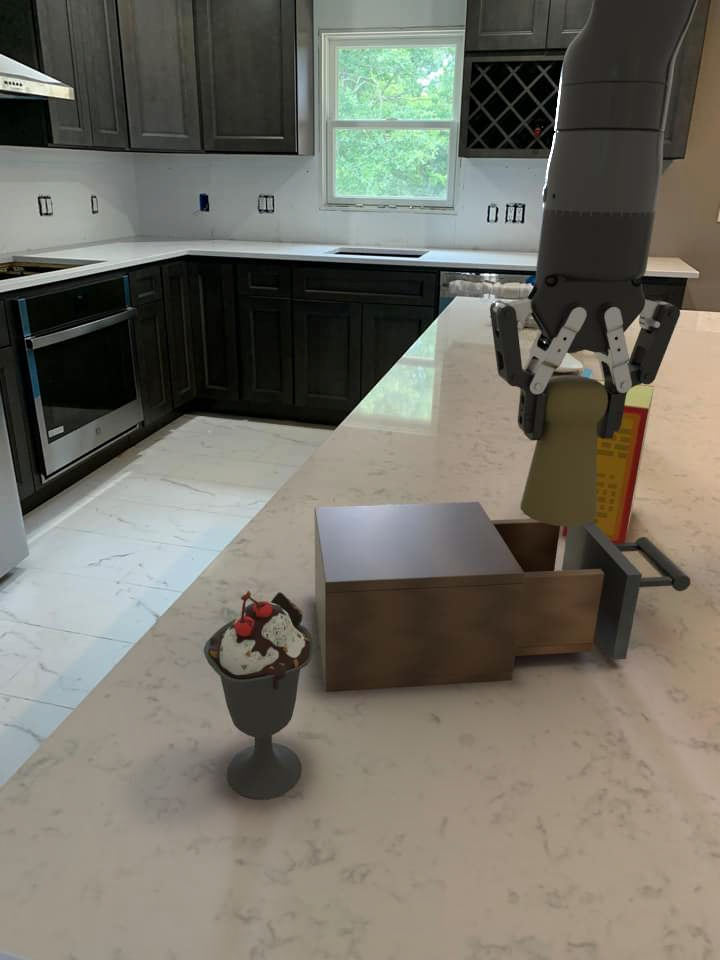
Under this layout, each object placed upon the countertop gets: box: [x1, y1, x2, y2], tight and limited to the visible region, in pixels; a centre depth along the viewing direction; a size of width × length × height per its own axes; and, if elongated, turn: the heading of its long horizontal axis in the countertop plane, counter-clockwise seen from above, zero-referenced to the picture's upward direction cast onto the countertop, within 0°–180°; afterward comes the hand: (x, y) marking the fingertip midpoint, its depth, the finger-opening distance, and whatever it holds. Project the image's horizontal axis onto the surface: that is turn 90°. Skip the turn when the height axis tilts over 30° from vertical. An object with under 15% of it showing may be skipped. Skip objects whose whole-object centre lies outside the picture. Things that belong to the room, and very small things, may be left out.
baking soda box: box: [562, 378, 655, 543], centre depth 81 cm, size 10×6×16 cm
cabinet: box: [314, 501, 525, 693], centre depth 61 cm, size 15×13×10 cm
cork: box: [520, 374, 608, 527], centre depth 57 cm, size 6×6×11 cm
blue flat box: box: [580, 368, 594, 379], centre depth 123 cm, size 12×2×6 cm, turn 158°
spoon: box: [553, 353, 584, 374], centre depth 158 cm, size 9×32×4 cm, turn 162°
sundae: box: [203, 590, 314, 801], centre depth 46 cm, size 7×7×15 cm
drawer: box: [490, 518, 691, 661], centre depth 62 cm, size 19×12×8 cm, turn 97°
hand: (567, 435), depth 57 cm, fingers closed on cork, 5 cm apart
